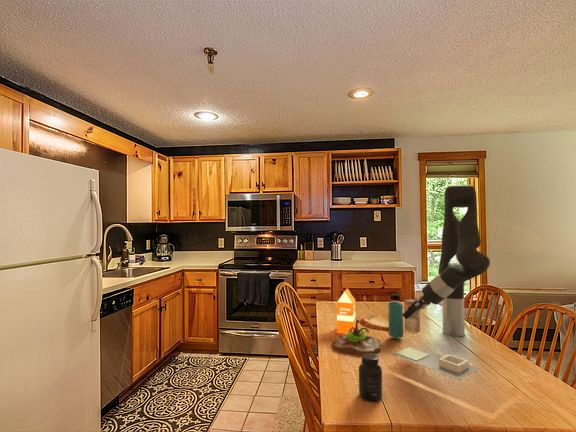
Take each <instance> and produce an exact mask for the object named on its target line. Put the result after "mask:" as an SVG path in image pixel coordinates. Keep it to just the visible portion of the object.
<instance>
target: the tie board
mask: <svg viewBox="0 0 576 432" xmlns="http://www.w3.org/2000/svg"><path fill="white" fill-rule="evenodd" d="M392 355H395V356H396V357H398V358H400V359H404V360H407V361H410V362H412V363H415V364H417V365H420V366H422V367H425V368H428V369H430V370H433V371H436V372H438V373H440V374H443V375H446V376H449V377H450V378H453V379H456V380H459V381H461V380H463V379H465V378H466V377H467V376H469V375H471V374H473V373H475V372H477V371H478V370H479V369H480V367H476V366H473V365H471V364H469V360H468V359H464V358H462V357H459V356H455V355H453V354H446V355H444V356H443V355H440V354H438V353H435V352H432V351H429V350H426V349H423V348H419V347H418V346H414V345H412V346H411V345H410V346H408V347H407V348H403V349H401V350H399V351H396V352H393V353H392Z"/></svg>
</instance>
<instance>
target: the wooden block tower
mask: <svg viewBox="0 0 576 432" xmlns="http://www.w3.org/2000/svg"><path fill="white" fill-rule="evenodd" d="M416 300H417V299H411V298H409V299H404V301H403V303H404V305H403V306H404V309H403V310H404V311H403V313H405V312H406V311H407V310H408V307H410V306H411V305H412V304H413V303H414V302H415V301H416ZM412 309H413V308H412ZM419 309H420V308H419ZM413 310H414V309H413ZM420 312H421V311H416V312H415V313H414V314H412V315H411V316H410V317H409V318H408V319H405V318H404V332H406V333H410V334H412V335H415V334H418V333H420V332H421V327H420V325H421V324H420V323H421V321H420V320H421V316H420V314H421V313H420Z"/></svg>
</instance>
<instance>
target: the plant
mask: <svg viewBox="0 0 576 432" xmlns="http://www.w3.org/2000/svg"><path fill="white" fill-rule="evenodd" d="M359 323H361V322H360V319H359V318H358V319H355V328H354V327H351V329H349V332H348V333H346V334H344V333H341V334H339V335H338V337H336V338H333V340H332V344H331V345H332V348H333V351H335V352H338V353H343V354H350V355H355V356H358V357H362V355H363V354H367V353H370V354H375V355H377V354H378V353H381V340H380V339H378V338H377V337H375V336H371V335H369V332H370V329H369V328H368V327H362V328H360V329H359V328H358V326H359V325H358V324H359ZM352 329H353V331H352ZM366 333H368V334H366Z"/></svg>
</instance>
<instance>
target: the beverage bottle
mask: <svg viewBox="0 0 576 432" xmlns="http://www.w3.org/2000/svg"><path fill="white" fill-rule="evenodd" d="M390 300H391V301H390V302H389V303H388V304H387V305H388V309H387V311H388V319H387V320H389V325H388V326H389V327H388V329H389V331H388V335H389V336H390V337H391V338H395V339H397V338H398V339H399V338H400V339H401V338H403V337H404V331H405V328H404V316H403V314H404V311H403V310H404V309H403V306H404V305H403V303H402V302H401V301H400V300H401V296H400V294H398V293H391V294H390Z"/></svg>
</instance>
